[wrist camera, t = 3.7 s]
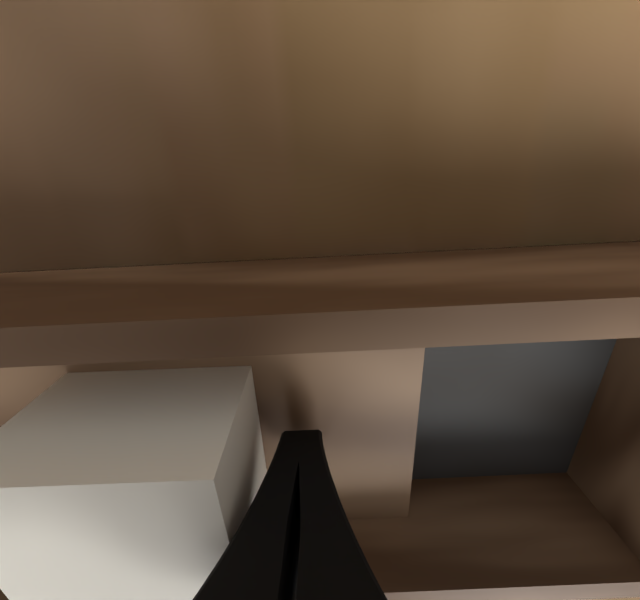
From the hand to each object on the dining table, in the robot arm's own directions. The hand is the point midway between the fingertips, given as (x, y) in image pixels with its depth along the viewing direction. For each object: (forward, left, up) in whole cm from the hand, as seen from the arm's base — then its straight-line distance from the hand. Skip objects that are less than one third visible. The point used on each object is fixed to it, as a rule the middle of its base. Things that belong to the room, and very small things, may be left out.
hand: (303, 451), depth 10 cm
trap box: (0, +3, -3) cm, 4 cm away
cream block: (0, +5, -1) cm, 5 cm away
